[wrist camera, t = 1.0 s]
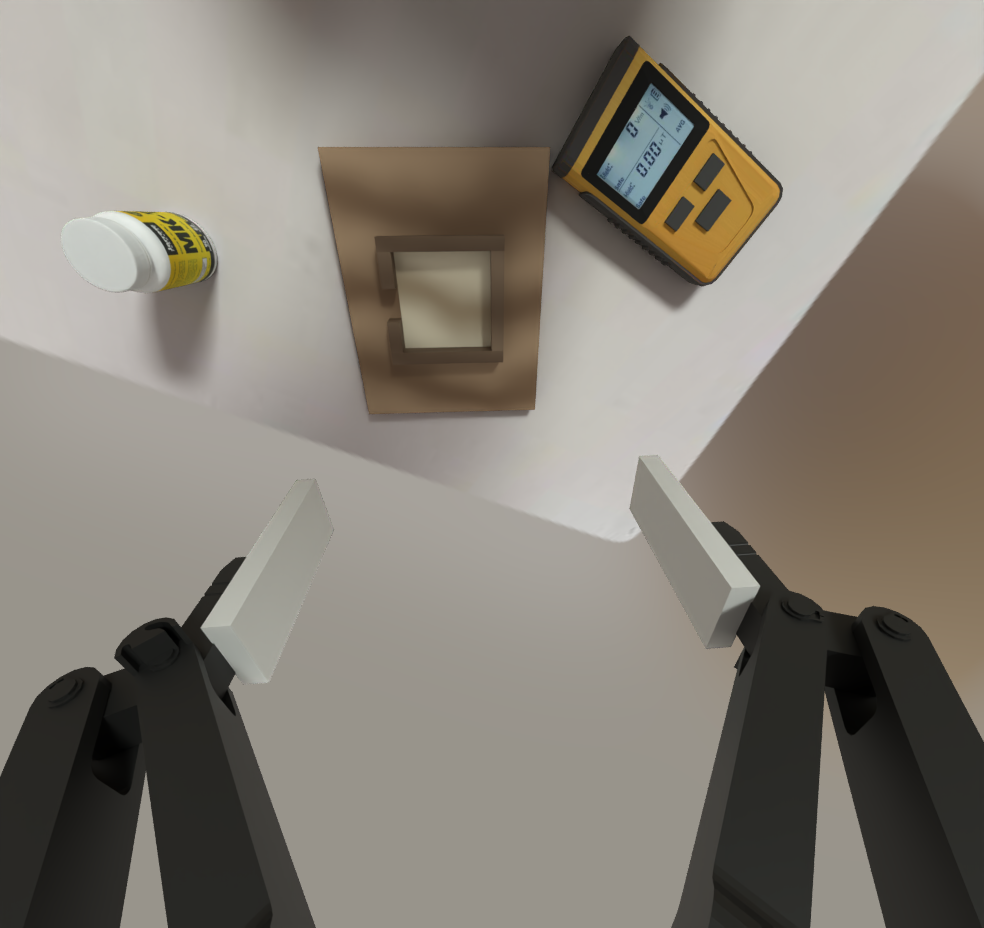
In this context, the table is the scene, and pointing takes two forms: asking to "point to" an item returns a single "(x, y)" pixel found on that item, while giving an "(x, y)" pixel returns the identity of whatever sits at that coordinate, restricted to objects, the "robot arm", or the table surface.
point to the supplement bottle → (138, 250)
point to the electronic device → (666, 168)
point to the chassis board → (442, 272)
